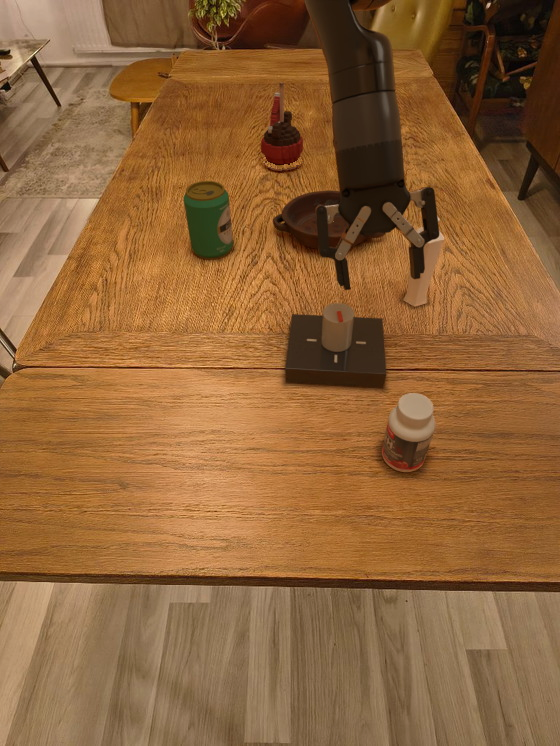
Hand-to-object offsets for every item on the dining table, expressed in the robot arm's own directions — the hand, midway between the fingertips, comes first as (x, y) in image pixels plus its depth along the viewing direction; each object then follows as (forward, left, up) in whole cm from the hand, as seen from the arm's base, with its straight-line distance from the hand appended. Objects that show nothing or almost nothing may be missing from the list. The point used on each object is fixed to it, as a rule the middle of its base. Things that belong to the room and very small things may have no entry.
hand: (381, 283), depth 64 cm
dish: (+7, -38, -16) cm, 42 cm away
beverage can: (+29, -31, -16) cm, 45 cm away
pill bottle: (-4, +15, -16) cm, 22 cm away
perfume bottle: (-8, -18, -16) cm, 25 cm away
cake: (+19, -69, -16) cm, 73 cm away
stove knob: (+5, -3, -13) cm, 14 cm away
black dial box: (+5, -3, -16) cm, 17 cm away
